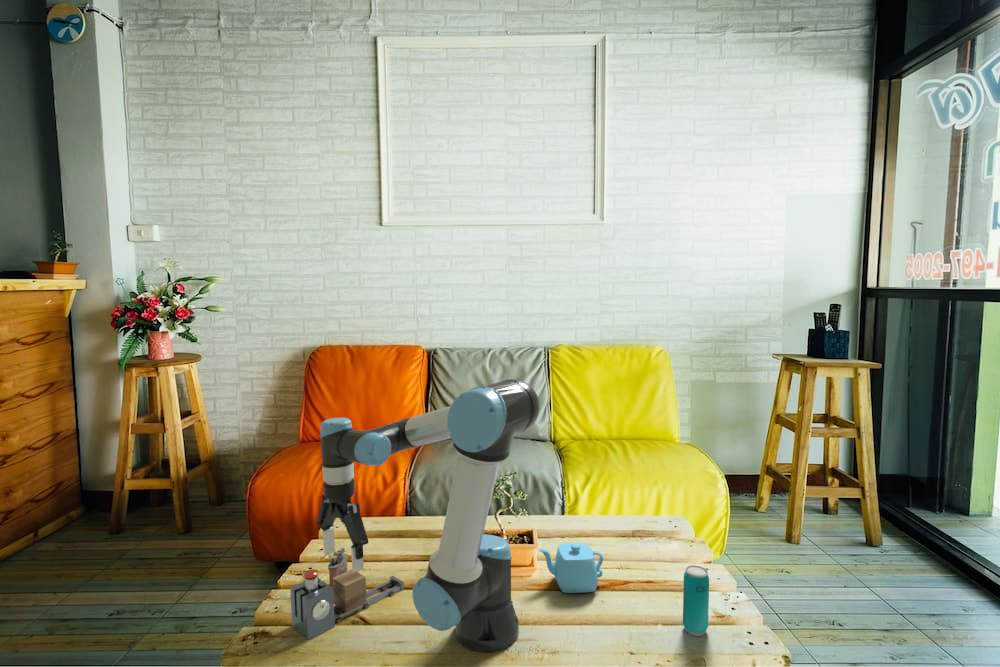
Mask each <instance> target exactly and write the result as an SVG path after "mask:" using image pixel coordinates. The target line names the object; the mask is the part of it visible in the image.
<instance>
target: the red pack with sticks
mask: <svg viewBox="0 0 1000 667" xmlns="http://www.w3.org/2000/svg"><path fill="white" fill-rule="evenodd" d="M345 552H346V549H345V547H343V546H342V547H340V548H339V549H338V551H335V553H332V554H333V555H332V556H330V557H331V561H330V563H329V564H328V565H327V568H328V574H329V586H331V587H332V588H333V577H336V576H338V575H341V574H343V573H345V572H348V571H349V568H348V559H349V558H348V557H349V556H348V554H347V553H345Z"/></svg>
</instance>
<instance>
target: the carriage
mask: <svg viewBox="0 0 1000 667" xmlns="http://www.w3.org/2000/svg"><path fill="white" fill-rule="evenodd" d="M366 580H367V578H366V576H365V575H363V574H362V573H360V572H359V571H357V572H355V573H354V572H352V569H350V570H348V572H345V573H343V574H341V575H338V576H336V577H333V596H334V606H337V607H339V608H340V609H341V610H340V611H344V612H345V613H347V612H349V611H351V610H353V609H355V608H357V607H359V606H361V605H363V604H366V603H367V601H366V600H367V598H366V591H367V583H366V582H367V581H366Z"/></svg>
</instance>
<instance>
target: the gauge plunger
mask: <svg viewBox="0 0 1000 667" xmlns="http://www.w3.org/2000/svg"><path fill="white" fill-rule="evenodd" d="M318 576H319V571H318V570H317V569H308V570H306V571H304V576H303V578H304V580H305V581H304V582H305V585H306V595H307V594H310V593H312V592H314V591H317V590H318V581H317V577H318Z"/></svg>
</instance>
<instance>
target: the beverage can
mask: <svg viewBox="0 0 1000 667" xmlns="http://www.w3.org/2000/svg"><path fill="white" fill-rule="evenodd" d="M682 594H683V595H682V596H683V598H682V623H683V627H684V630H685V631H686V632H687V634H689V635H691V636H693V637H694V636H695V637H702V636H704V635H706V632H707V629H708V628H709V607H710V606H709V602H710V600H709V599H710V577H709V571H708V570H707V569H706V568H704V567H702V566H699V565H689V566H686V567H685V568H684V573H683V592H682Z"/></svg>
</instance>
